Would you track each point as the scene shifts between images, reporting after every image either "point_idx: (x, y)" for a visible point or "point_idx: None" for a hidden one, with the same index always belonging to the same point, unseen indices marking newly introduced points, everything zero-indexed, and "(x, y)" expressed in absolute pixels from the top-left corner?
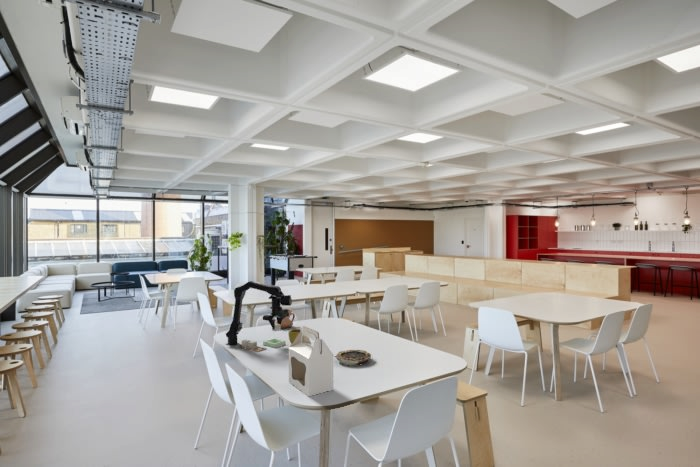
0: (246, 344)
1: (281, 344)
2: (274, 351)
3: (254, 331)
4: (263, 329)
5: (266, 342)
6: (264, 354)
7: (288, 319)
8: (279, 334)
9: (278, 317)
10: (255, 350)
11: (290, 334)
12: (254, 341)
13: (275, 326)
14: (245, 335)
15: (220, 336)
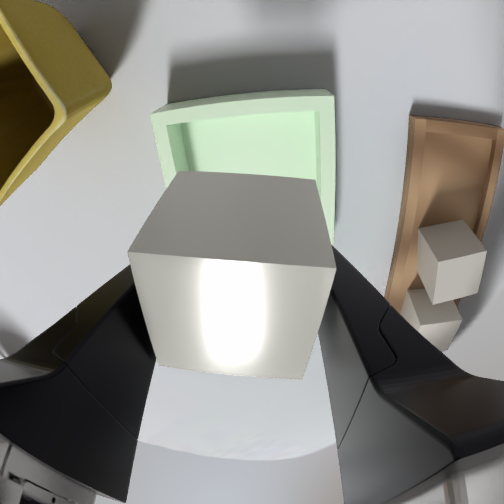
0: (446, 302)
1: (221, 98)
2: (395, 19)
3: (174, 428)
4: None
5: (332, 229)
6: (498, 45)
7: None
8: None
9: (87, 485)
10: (497, 162)
11: (66, 82)
12: (441, 278)
13: (331, 245)
14: (240, 424)
15: (318, 447)
